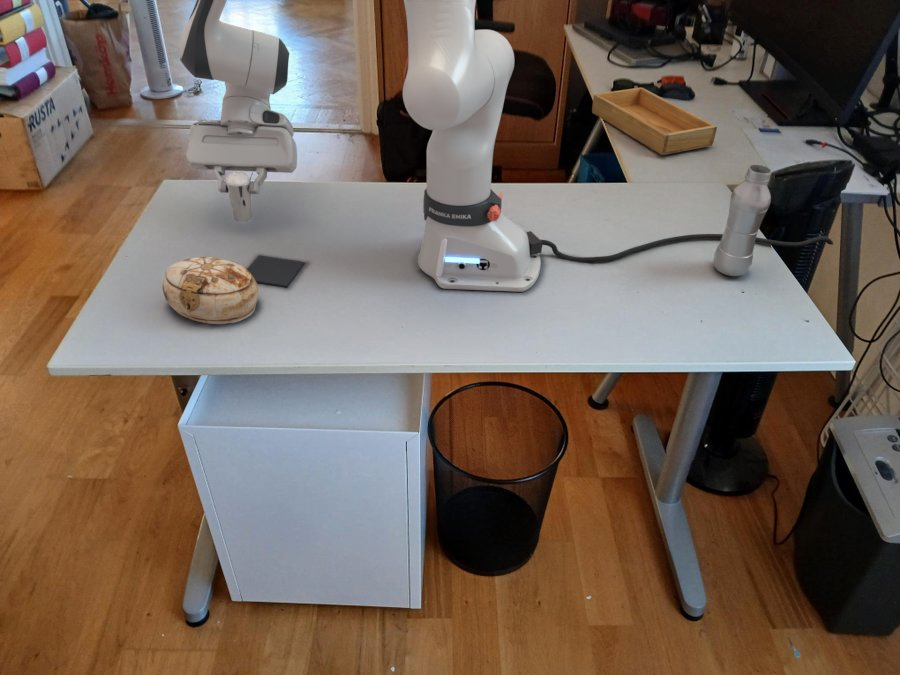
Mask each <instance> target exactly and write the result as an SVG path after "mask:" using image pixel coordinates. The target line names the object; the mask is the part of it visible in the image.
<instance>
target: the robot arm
mask: <svg viewBox="0 0 900 675" xmlns="http://www.w3.org/2000/svg"><path fill="white" fill-rule="evenodd" d="M227 1H228V0H196V1H195V4H194V7H193V10H192V11H191V14H190V16H189V19H188V21H187V22H186V24H185V26H184V28H183V30H182V32H181V34H180V39H179V44H178V45H179V46H178V52H179V61H180V63H181V64H182V65H183V66H184V67H185V69H186V70H187V71H188V72H189V74H191V75H192V76H193V77H194V78H195V79H197V78H198V79H203V80H211V81H214V80H215V81H219V82H223V83H224V85H225V92H224V95H223V97H222V101H221V102H222V103H221V112H220V120H219V119H218V120H217V119H212V120H211V119H210V120H206V119H199V120H197V121H195V122H194V123H192V125H191V126H190V128H189V140H188V144H187V148H186V154H185V160H186V161H187V163H188V165H190V166H191V167H192V168H193V169H195V170H207V171H208V170H209V171H213V173H214V175H215V177H216V179H217V181H218V187H217V189H218V192H219V193H223V194H224V193H225V194H229V193H228V189H227V186H226V182H225V180H224V178H223V176H225V175H226V171H229V172H230V171H232V172H256V174H257V176H256V178H255V179H254V181H251V182H250V185H249V186H250V187H249V192H250V193H251V195H260V193H261V192H260V191H261V186H262V184H264V182H265V181H266V180H267V177H268V173H284V174H285V173H286V174H289V173H290V174H293V173H294V172H295V171H296V169H297V167H298V149H297V148H298V147H297V144H296V141H295V139H294V134H295V129H294V126H293V124H292V123H291V121H290V120H289V118H288V117H287V116H286V114H284V113H281V112H278V111H275V110H272V109H271V108H272V107H271V103H270V97H271V95H275V94H276V93H278V92H279V91H281V90H283V89H284V88H285V87H286V85H287V83H288V75H289V62H290V61H289V59H290V54H291V53H290V51H289V50H288V48H287V46H286V44H285V43H284V42H283V40H282V39H281V38H280V37H277V36H275V35H272V34H269V33H266V32H261V31H258V30H254V29H248V28H245V27H241V26H237V25H233V24H230V23H226V22H223V21H222V20H220V19H221V16H222V14H223V11H224V9H225V6H226V4H227ZM476 3H477V0H403V4H404V8H405V9H404V10H405V16H406V24H407V49H408V50H407V51H408V52H407V53H408V56H407V57H408V58H407V59H408V60H407V62H408V64H407V70H406V76H405V79H404V82H403V87H402V100H403V104H404V107H405V109H406V111H407V113H408V115H409V116H410V117H411V119H412V120H413V121H414V122H415V123H416V124H418V125H419V126H420V127H422V128H424V129H426V130H430V131H432V132H431V135H430V137H429V140H428V142H427V145H426V188H425V189H424V190H423V199H422V210H423V211H422V212H423V220H424V230H423V238H422V243H421V247H420V250H419V253H418V256H417V264H418V266H419V269H420V270H421V271H422V272H423V273H425V274H426V275H428V276H429V277H430V278H432V279H433V280H434V281H435V283H436V285H437V286H438V287H439V288H441V289H444V290H466V291H467V290H468V291H492V292H493V291H494V292H495V291H496V292H517V293H518V292H519V293H520V292H522V293H523V292H525V291H527V290H529V289H531V288H532V287H533V286H534V285H535V283H536V282H537V281H538V278H539V276H540V272H541V268H542V266H541V262H542V261H541V256H540V254H541V253H542V251H543V246H547V247H549V248H551V251H552V252H553V254H554V255H555V256H556V257H558V258H559V259H562V260H566V261H571V262H575V263H598V262H609V261H614V260H617V259H620V258H623V257H626V256H628V255H631V254H633V253H636V252H641V251H645V250H647V249H650V248H654V247H657V246H661V245H666V244H669V243H675V242H682V241H690V240H691V241H692V240H707V239H708V240H710V239H711V240H721V239H722V236H723V234H724V233H697V234H695V233H694V234H686V235H678V236H673V237H667V238H663V239H658V240H654V241H651V242H648V243H644V244H640V245H638V246H634V247H631V248H628V249H625V250H623V251H620V252H618V253H615V254H611V255H602V256H586V257H579V256H578V257H577V256H572V255H568V254H565V253H563V252H561V251H559V249H558V246H557V245H556V244H555V243H554V242H553V241H550V240H547V239H542V238H541V239H540V238H539V237H538V236H536V234H534V232H532V231H526V229H525V228H524V227H523V226H522V225H520V224H519V223H517V222H516V221H515V220H513V218H511V217H510V216H509V215H507V214H506V213H504V212H503V211H502V207H503V206H502V199H503V192H502V191H500V192H499V194H498V195H497V194H496V192H495V191H493V190H492V173H493V159H494V151H495V150H494V149H495V144H496V139H497V134H498V129H499V126H500V122H501V117H502V113H503V108H504V105H505V104H504V103H505V99H506V95H507V89H508V85H509V82H510V80H511V77H512V74H513V73H514V72H513V71H514V69H515V53H514V50H513V48H512V45H511V44H510V42H509V40H508V39H507V38H506V37H505V36H504V35H503V34H501V33H499V32H498V31H495V30H492V29H476V27H475V16H476V15H475V14H476V13H475V12H476ZM818 242H825V243H826V244H827V245H830V246H831V245H832V246H833V245H834V241H833V240H832V239H831V238H830V237H828V236H826V235H818V236H815V237H812V238H809V239H806V240H802V241H797V242H793V241H791V242H790V241H781V240H773V239H768V238H762V237H757V236H756V240H755V243H758V244H765V245H769V246H775V247H782V248H801V247H805V246H809V245H811V244H814V243H818Z"/></svg>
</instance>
